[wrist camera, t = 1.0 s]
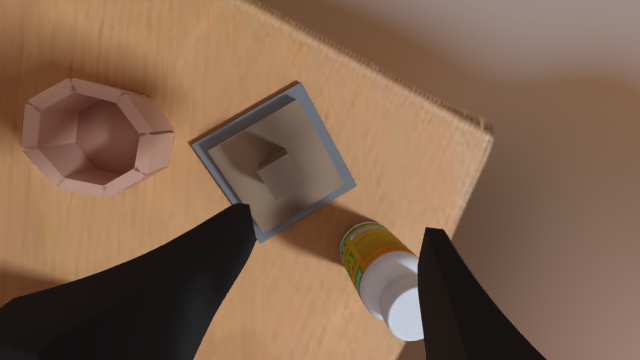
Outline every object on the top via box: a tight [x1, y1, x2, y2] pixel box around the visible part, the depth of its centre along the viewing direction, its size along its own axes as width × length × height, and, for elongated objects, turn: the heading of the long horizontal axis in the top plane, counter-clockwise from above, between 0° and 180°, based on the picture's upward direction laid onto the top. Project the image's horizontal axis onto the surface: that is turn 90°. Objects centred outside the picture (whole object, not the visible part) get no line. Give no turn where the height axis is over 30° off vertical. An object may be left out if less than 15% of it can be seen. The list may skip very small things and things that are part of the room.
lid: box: [208, 99, 345, 233], centre depth 21 cm, size 8×8×4 cm
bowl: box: [21, 78, 175, 198], centre depth 19 cm, size 7×7×4 cm
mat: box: [192, 83, 357, 243], centre depth 23 cm, size 10×10×1 cm
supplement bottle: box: [340, 222, 424, 341], centre depth 22 cm, size 5×5×10 cm
